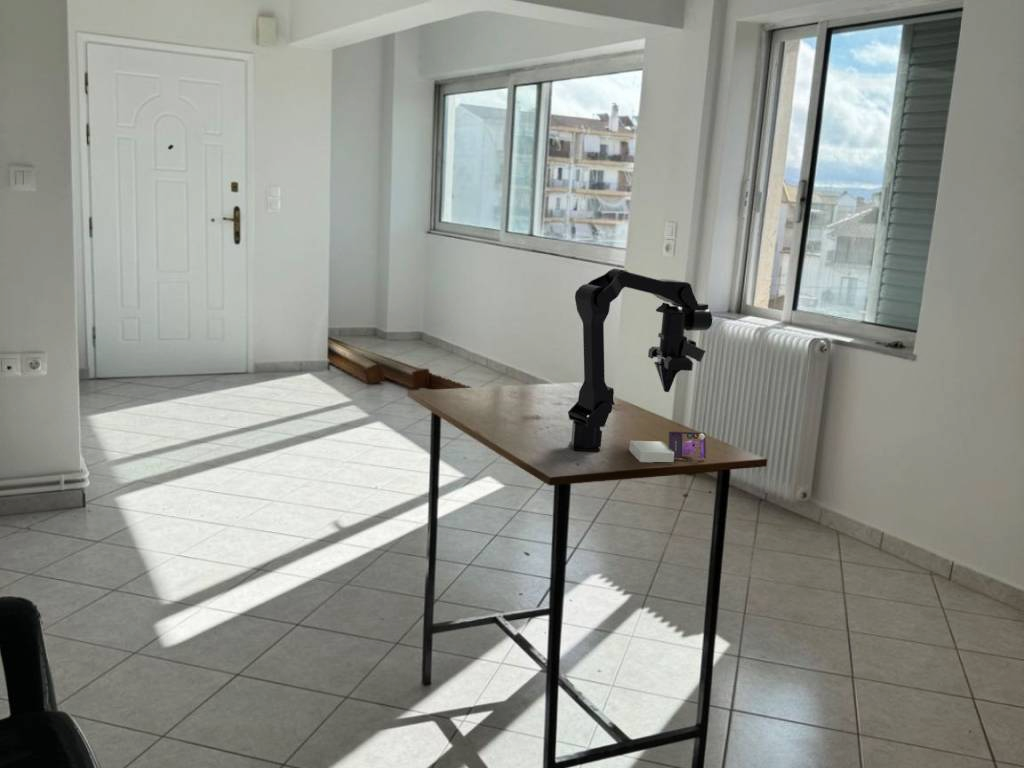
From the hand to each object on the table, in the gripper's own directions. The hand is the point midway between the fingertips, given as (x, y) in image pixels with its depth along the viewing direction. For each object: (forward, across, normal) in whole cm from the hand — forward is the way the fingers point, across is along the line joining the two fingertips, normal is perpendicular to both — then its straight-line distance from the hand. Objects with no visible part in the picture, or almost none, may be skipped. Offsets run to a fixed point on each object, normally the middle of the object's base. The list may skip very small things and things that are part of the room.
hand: (666, 391), depth 239 cm
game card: (+13, -15, -2) cm, 20 cm away
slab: (+13, -15, +7) cm, 21 cm away
